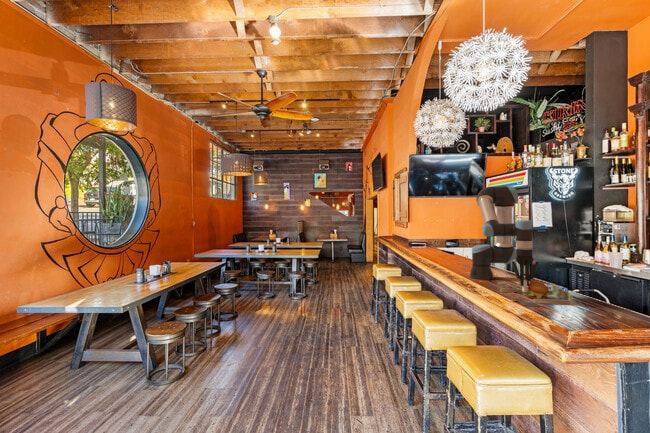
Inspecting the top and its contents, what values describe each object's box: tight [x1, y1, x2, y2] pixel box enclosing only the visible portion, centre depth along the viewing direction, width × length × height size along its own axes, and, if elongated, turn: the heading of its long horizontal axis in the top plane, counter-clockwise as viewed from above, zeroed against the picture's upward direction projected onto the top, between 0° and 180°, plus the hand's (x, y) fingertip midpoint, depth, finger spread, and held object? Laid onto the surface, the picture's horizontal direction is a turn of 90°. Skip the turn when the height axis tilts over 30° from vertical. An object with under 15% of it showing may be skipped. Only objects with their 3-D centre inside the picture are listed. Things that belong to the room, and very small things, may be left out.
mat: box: [522, 301, 540, 308], centre depth 152 cm, size 6×7×1 cm
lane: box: [500, 284, 573, 306], centre depth 164 cm, size 21×26×5 cm
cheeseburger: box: [525, 280, 549, 300], centre depth 163 cm, size 10×11×10 cm
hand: (524, 291), depth 165 cm, fingers closed
